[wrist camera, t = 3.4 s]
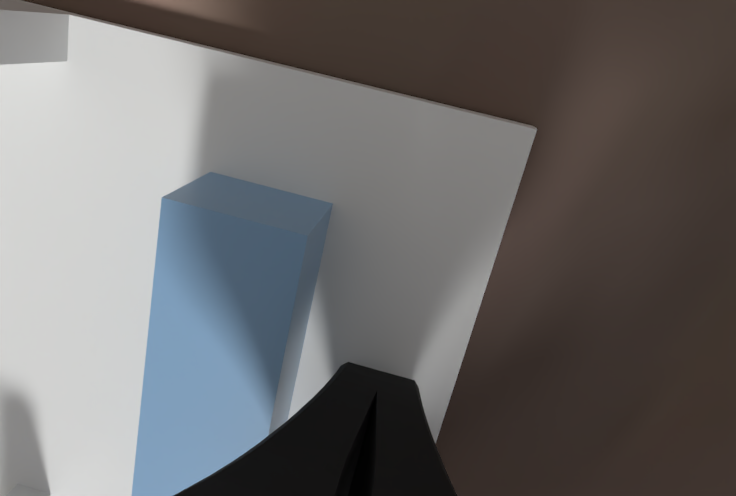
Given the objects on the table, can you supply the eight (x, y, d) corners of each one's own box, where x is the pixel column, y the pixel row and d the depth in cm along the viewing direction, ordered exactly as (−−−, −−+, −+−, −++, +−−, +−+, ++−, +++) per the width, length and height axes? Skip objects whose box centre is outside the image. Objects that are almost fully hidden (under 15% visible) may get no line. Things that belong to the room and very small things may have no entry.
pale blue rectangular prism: (332, 203, 10) (308, 236, 8) (267, 513, 13) (238, 586, 11) (210, 171, 10) (161, 197, 9) (170, 484, 13) (125, 551, 11)
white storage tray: (533, 126, 10) (565, 162, 7) (353, 688, 15) (327, 849, 12) (-297, -78, 11) (-584, -123, 8) (-203, 516, 15) (-355, 626, 13)
